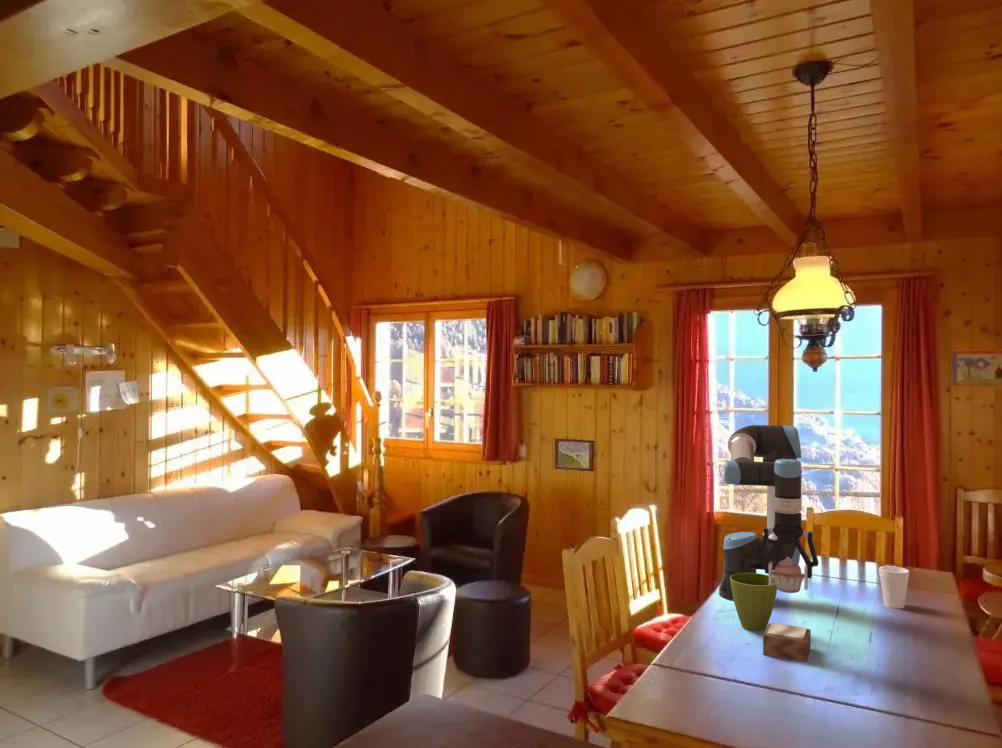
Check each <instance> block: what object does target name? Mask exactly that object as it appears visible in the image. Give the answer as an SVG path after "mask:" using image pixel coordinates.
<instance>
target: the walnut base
mask: <svg viewBox="0 0 1002 748" xmlns="http://www.w3.org/2000/svg"><path fill="white" fill-rule="evenodd" d="M811 638H812V637H811V629H810V628H807V627H804V626H797V625H788V624H782V623H776V622H771V623H770V622H768V625H767V627H766V629H765V630H764V633H763V635H762V655H763V656H768V655H770V656H769V657H774V656H775V657H776V658H780V657H781V658H780V659H786V658H787V659H786V660H788V659H789V660H794V661H799V662H806V663H807V662H808V659H809V656H810V652H811V649H812V648H811V647H812V645H811V644H812V643H811V641H812V640H811ZM810 648H811V649H810ZM775 657H774V658H775Z"/></svg>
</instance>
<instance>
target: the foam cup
mask: <svg viewBox="0 0 1002 748" xmlns="http://www.w3.org/2000/svg"><path fill="white" fill-rule="evenodd" d="M878 575H879V580H880V586H881V592H882V598H883V600H882V601H883V605H884V606H885V607H888V608H891V609H897V610H898V609H904V608H905V604H906V598H907V591H908V584H909V579H910V570H909V569H907V568H905V567H900V566H894V565H893V566H892V565H881V566H880V567H879V568H878Z"/></svg>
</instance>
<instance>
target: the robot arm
mask: <svg viewBox="0 0 1002 748" xmlns="http://www.w3.org/2000/svg"><path fill="white" fill-rule="evenodd" d="M799 434H800V433H799V430H798V429H797V427H796V426H794V425H785V424H781V425H780V424H773V425H771V424H769V425H767V424H766V425H765V424H761V425H760V424H759V425H758V424H751V425H746V426H744V427H741V428H739V429H737V430H736V431H734V432H733V433H732V434H731V435H730V437H729V439H728V441H727V449H728V452H729V454H730V460H726V461H725V462H724V463H723V464H724V465H723V469H724V470H723V471H724V473H723V475H724V478H723V479H724V480H723V481H724V483H725V484H727V485H734V486H759V487H766V490H767V491H766V492H767V493H766V497H767V498H766V499H767V500H766V527H764V528H763V532H762V537H758V536H757V534H756V533H755V532H751V531H739V532H732V533H729V534H727V535H725V537H724V539H723V548H722V549H723V575H722V579H721V581H720V584H719V587H718V595H719V596H720V597H721V598H723V599H727V600H730V601H734V599H733V594H732V589H731V582H730V576H731V575H733V574H737V573H757V570H762V571H764V573H765V574H767V575H768V576H769V586H771V585H772V577H773V575H772V572H773V571H775V567H776V566H777V565H778V563H779V562H780V561H782V560H785V559H786V557H789V558H791V559H792V560H793V561H794V562H795V563H797V564H798V565H799V563H800V558H802V560H803V562H804V563H805V565H804V568H803V569H804V571H803V572H804V573H803V574H804V579H803V581H804V583H803V585H804V591H808V588H809V579H812V577H813V568H814V567H818V566H819V564H820V563H819V559H818V558H819V557H818V554H817V551H816V548H815V544H814V539H813V538H814V537H813V536H814V532H813V531H812V530H810V531H807V530H804V529H803V525H802V523H803V522H802V519H803V518H802V512H801V511H802V505H803V503H802V474H803V470H802V463H801V461H800V460H799V459H802V448H801V447H802V446H801V441H800V436H799ZM755 458H762V461H755ZM802 536H804V538H805V539H806V540H807V543H808V547H809V548H808V549H809V551H810V556H811V559H810V557H809V555H808V553H807V551H806V550H805V548H804V546H803V544H802V542H801V540H800V538H801V537H802ZM811 560H812V561H811ZM799 566H800V565H799Z"/></svg>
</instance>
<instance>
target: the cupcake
mask: <svg viewBox="0 0 1002 748" xmlns="http://www.w3.org/2000/svg"><path fill="white" fill-rule="evenodd" d="M772 577H774V579H775V582H776V587H777V591H779V592H783V593H788V594H796V593H799V592H800V591H801V587H802V584H803V581H804V573H802V568H801V566H800V565H798V564H797V563H795V562H794V561H793V560H792V559H791V558H789V557H786V559H785V560H782V561H780V562H779V563H778V565H777V566H776V567H775V571H773V570H772Z"/></svg>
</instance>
